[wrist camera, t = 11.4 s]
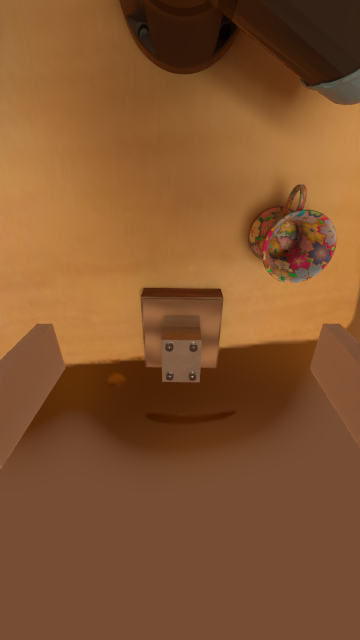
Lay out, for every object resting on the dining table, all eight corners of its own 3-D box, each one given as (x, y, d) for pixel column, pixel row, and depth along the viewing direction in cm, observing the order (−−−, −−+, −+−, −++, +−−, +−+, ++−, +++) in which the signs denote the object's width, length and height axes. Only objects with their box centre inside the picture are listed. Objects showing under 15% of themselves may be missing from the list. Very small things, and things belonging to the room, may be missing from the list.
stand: (143, 288, 47) (140, 297, 43) (220, 288, 47) (223, 298, 43) (148, 355, 54) (145, 367, 50) (214, 355, 54) (217, 368, 50)
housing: (164, 315, 45) (160, 341, 38) (199, 315, 45) (202, 341, 37) (165, 352, 49) (162, 383, 41) (197, 353, 49) (199, 383, 41)
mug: (297, 261, 44) (327, 282, 35) (243, 263, 45) (259, 284, 35) (311, 182, 39) (351, 182, 29) (249, 185, 39) (269, 186, 30)
